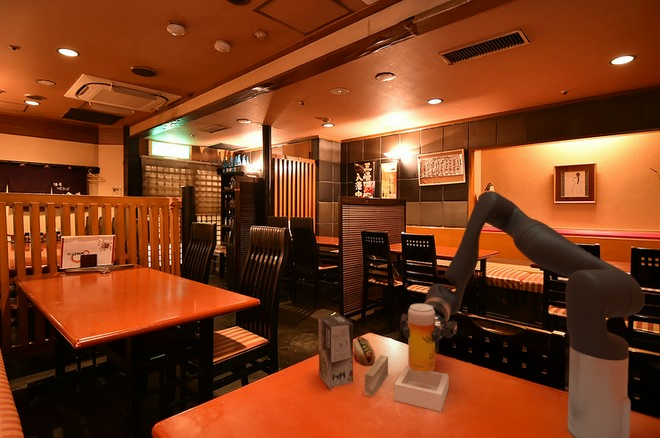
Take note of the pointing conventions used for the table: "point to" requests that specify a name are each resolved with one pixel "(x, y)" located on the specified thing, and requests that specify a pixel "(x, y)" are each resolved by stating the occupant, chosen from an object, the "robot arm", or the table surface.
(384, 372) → the backstop board
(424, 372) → the beer can
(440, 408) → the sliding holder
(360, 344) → the hot dog
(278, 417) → the table surface
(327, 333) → the coffee box
